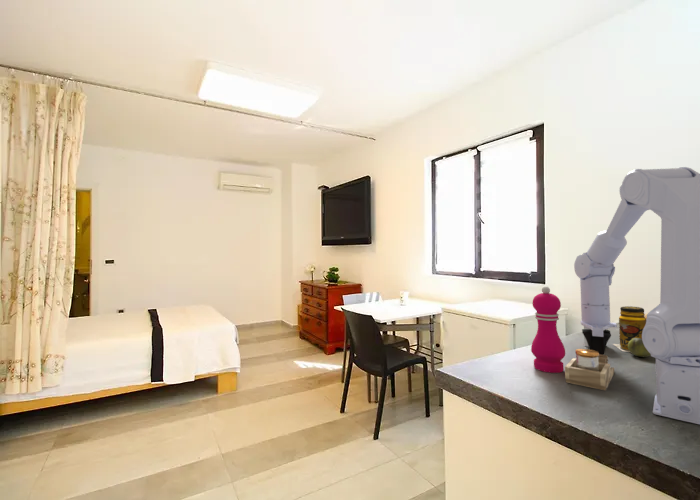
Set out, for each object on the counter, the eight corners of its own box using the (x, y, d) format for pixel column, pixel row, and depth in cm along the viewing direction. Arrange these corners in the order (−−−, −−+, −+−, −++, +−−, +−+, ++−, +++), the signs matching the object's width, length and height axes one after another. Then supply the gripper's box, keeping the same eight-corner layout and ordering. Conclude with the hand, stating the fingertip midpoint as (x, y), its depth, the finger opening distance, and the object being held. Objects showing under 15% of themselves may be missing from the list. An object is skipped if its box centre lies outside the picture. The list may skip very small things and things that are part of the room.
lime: (626, 353, 94) (626, 335, 94) (649, 355, 91) (649, 337, 91) (629, 358, 90) (629, 339, 90) (654, 360, 88) (653, 341, 88)
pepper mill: (531, 371, 82) (529, 287, 82) (531, 362, 88) (529, 285, 89) (567, 375, 79) (564, 288, 79) (564, 366, 85) (561, 285, 85)
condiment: (623, 352, 95) (622, 309, 95) (612, 344, 103) (610, 304, 103) (656, 354, 93) (654, 309, 93) (641, 346, 101) (640, 305, 101)
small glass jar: (604, 379, 73) (603, 353, 73) (586, 380, 73) (584, 354, 73) (589, 372, 77) (588, 348, 77) (572, 373, 77) (570, 349, 77)
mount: (605, 391, 70) (604, 371, 70) (565, 383, 74) (564, 364, 74) (614, 372, 80) (613, 354, 80) (579, 365, 85) (578, 349, 85)
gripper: (619, 309, 75) (621, 371, 75) (612, 301, 88) (614, 354, 87) (580, 307, 79) (582, 366, 79) (579, 299, 91) (581, 350, 91)
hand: (597, 360), depth 83 cm, fingers closed
